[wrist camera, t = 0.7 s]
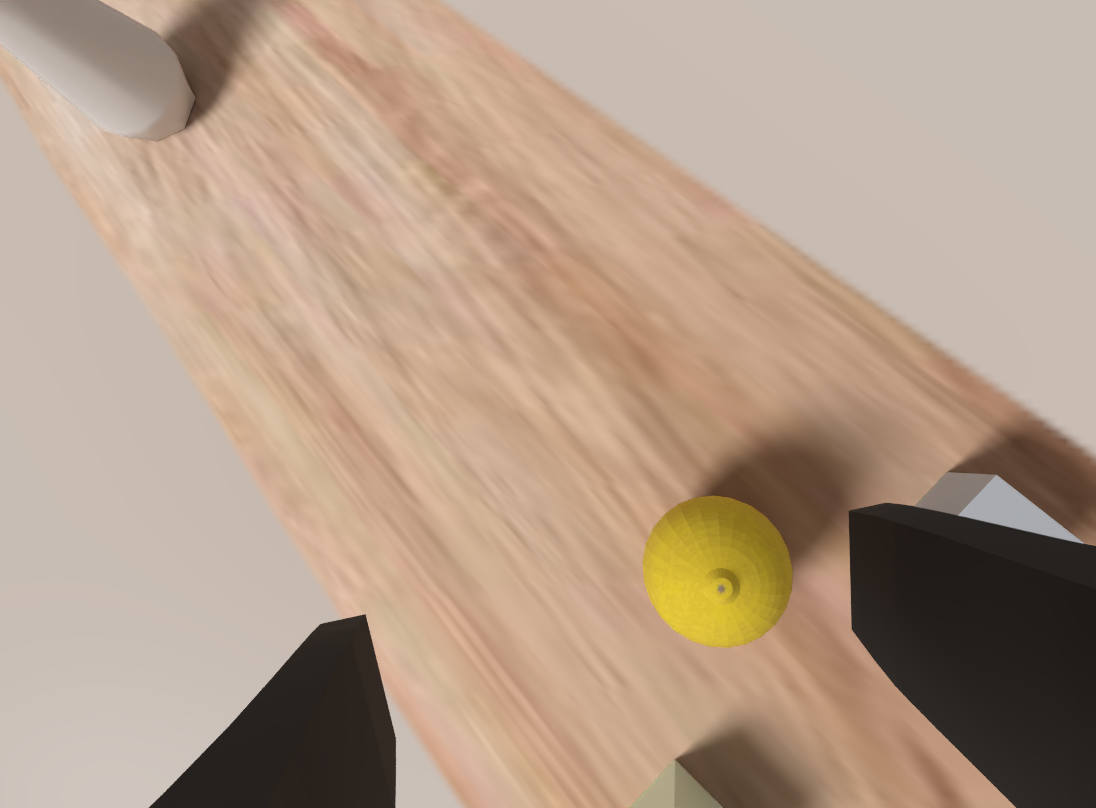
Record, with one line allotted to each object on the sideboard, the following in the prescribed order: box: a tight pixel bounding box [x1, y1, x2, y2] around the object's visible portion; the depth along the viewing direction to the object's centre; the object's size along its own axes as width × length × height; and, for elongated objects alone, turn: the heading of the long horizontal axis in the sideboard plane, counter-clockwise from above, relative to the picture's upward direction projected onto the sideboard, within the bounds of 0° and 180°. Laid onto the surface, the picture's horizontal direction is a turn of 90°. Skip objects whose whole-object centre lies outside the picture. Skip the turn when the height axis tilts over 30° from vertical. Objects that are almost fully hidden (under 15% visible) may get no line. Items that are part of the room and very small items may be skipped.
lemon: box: [643, 496, 793, 648], centre depth 25 cm, size 6×6×8 cm
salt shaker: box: [0, 0, 195, 141], centre depth 30 cm, size 6×6×13 cm
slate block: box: [914, 472, 1084, 544], centre depth 25 cm, size 4×4×4 cm
